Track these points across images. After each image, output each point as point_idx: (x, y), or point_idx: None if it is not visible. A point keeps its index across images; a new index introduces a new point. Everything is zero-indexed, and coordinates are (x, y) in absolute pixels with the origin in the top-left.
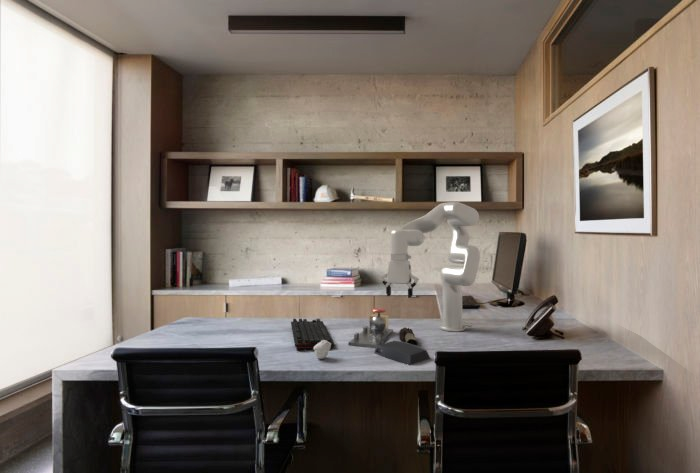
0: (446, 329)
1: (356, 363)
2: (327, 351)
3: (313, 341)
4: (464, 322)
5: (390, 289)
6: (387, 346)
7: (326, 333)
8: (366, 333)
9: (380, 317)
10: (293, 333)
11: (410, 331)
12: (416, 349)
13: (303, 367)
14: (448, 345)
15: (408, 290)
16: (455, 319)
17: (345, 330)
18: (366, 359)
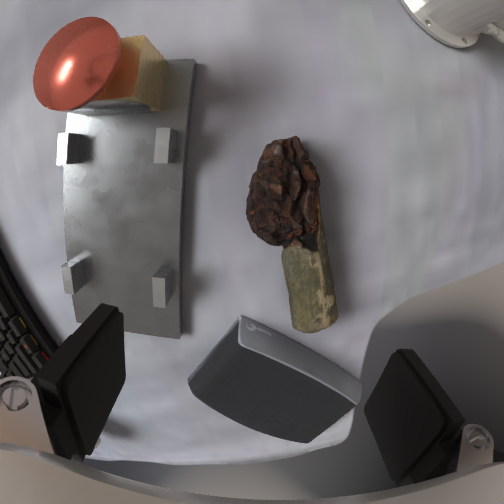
0: (430, 32)
1: (175, 440)
2: (100, 441)
3: (24, 376)
4: (492, 27)
5: (89, 377)
6: (233, 409)
7: (2, 306)
8: (85, 178)
9: (104, 100)
10: None
11: (309, 215)
12: (329, 412)
13: (95, 450)
14: (437, 240)
15: (391, 469)
16: (480, 25)
17: (12, 125)
18: (187, 421)
